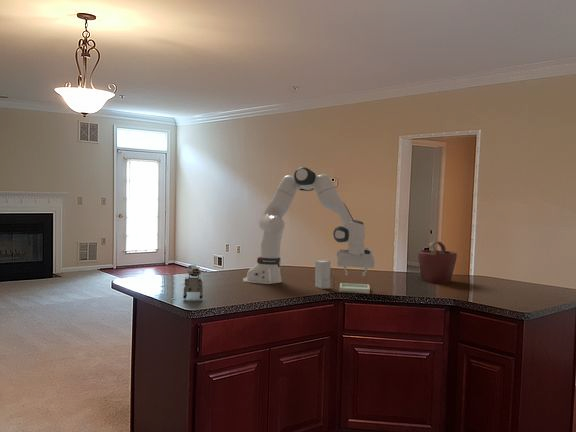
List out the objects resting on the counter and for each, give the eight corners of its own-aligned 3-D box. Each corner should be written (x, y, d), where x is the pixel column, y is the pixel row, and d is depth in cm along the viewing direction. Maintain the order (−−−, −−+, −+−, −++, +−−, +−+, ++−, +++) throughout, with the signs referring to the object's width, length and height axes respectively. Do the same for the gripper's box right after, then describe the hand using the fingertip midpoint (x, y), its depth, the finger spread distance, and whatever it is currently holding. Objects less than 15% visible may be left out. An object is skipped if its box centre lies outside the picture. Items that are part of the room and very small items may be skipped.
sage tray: (339, 291, 282) (339, 287, 281) (340, 286, 297) (340, 282, 297) (369, 293, 280) (369, 289, 279) (368, 288, 295) (369, 284, 295)
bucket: (439, 286, 311) (441, 243, 310) (407, 280, 328) (409, 240, 327) (461, 282, 327) (463, 242, 326) (430, 277, 344) (432, 239, 343)
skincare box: (330, 288, 291) (331, 261, 290) (320, 289, 289) (321, 261, 288) (323, 286, 299) (324, 259, 298) (314, 286, 296) (315, 259, 296)
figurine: (203, 295, 261) (204, 264, 260) (201, 299, 249) (202, 268, 249) (185, 294, 260) (185, 264, 259) (182, 299, 249) (183, 267, 248)
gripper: (336, 249, 286) (335, 275, 286) (375, 251, 283) (374, 277, 284) (337, 248, 292) (336, 273, 293) (374, 250, 290) (373, 275, 290)
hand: (355, 275), depth 288 cm, fingers open, 8 cm apart
